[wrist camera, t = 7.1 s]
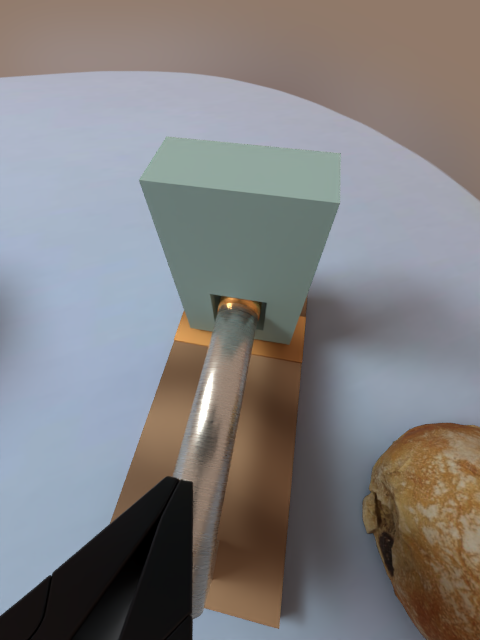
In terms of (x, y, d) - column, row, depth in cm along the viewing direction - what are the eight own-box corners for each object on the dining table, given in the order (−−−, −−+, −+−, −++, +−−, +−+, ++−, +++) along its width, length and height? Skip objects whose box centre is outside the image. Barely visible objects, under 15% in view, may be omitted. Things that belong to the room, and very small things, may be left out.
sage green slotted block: (289, 344, 18) (339, 203, 9) (190, 327, 19) (138, 180, 10) (293, 308, 20) (340, 153, 10) (201, 294, 21) (166, 136, 11)
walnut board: (276, 618, 13) (279, 630, 12) (101, 569, 14) (89, 577, 13) (305, 296, 22) (308, 288, 21) (199, 280, 23) (197, 271, 22)
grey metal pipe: (213, 580, 13) (200, 629, 9) (162, 566, 13) (125, 608, 9) (267, 283, 22) (273, 237, 18) (236, 278, 22) (235, 232, 18)
